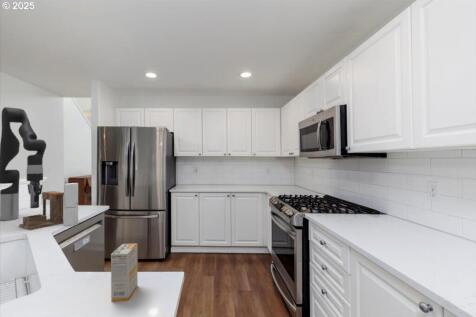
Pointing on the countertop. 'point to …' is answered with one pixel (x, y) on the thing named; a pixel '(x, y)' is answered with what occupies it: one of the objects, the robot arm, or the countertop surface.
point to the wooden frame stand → (42, 220)
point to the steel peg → (32, 203)
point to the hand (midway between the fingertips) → (34, 201)
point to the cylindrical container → (70, 204)
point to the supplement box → (123, 272)
